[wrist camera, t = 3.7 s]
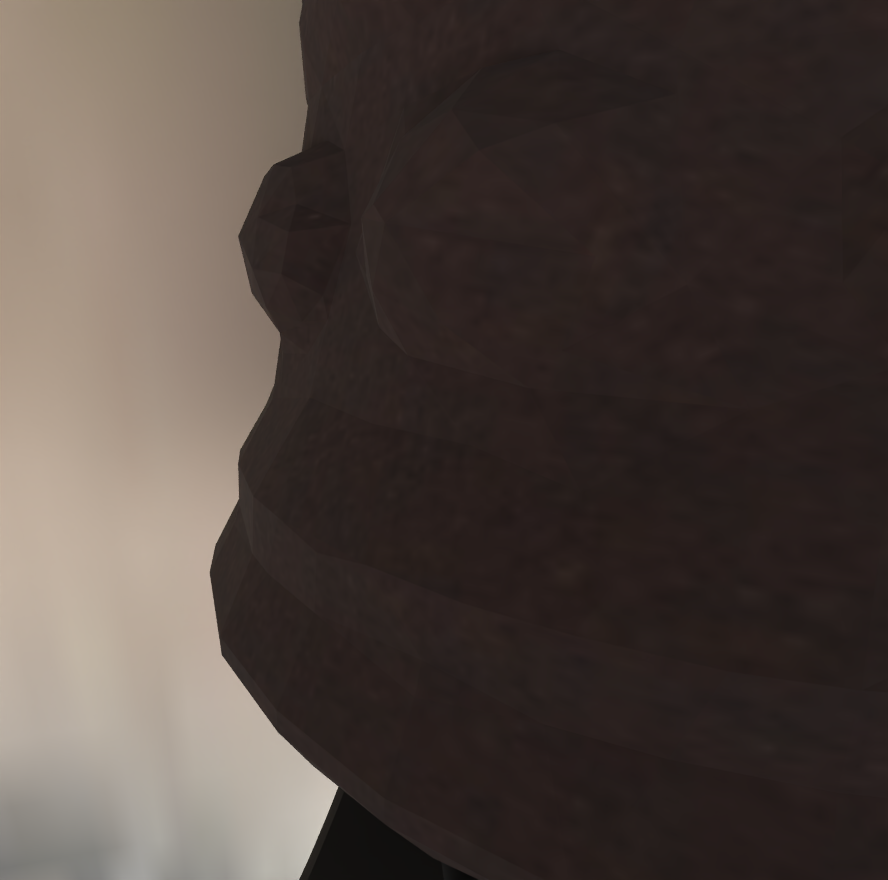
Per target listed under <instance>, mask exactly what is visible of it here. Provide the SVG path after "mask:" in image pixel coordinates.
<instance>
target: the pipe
mask: <svg viewBox="0 0 888 880" xmlns="http://www.w3.org/2000/svg"><path fill="white" fill-rule="evenodd" d="M302 4H303V5H302V10H301V16H300V22H299V26H300V37H301V48H302V59H303V70H304V81H305V92H306V100H307V104H308V111H307V119H306V126H305V133H304V140H303V148H302V152H301V153H299V154H296V155H294V156H292V157H290V158H287V159H285V160H283V161H281V162H279V163H276V164H274V165H273V166H272V167H271V169H270V170H269V171H268V173H267V174H266V175H265V176H264V179H263V181H262V183H261V186H260V188H259V190H258V192H257V195H256V197H255V199H254V202H253V204H252V206H251V208H250V211H249V213H248V215H247V218H246V220H245V222H244V224H243V227H242V229H241V231H240V234H239V236H238V237H239V241H240V245H241V249H242V254H243V258H244V262H245V266H246V270H247V274H248V278H249V283H250V287H251V291H252V294H253V295H254V297H255V298H256V300H257V301H258V302H259V304H260V305H261V307H262V308H263V309H264V311H265V312H266V314H267V315H268V316H269V318H270V319H271V321H272V322H273V324H274V325H275V326H276V328H277V329H278V331H279V332H280V337H281V341H280V348H279V356H278V363H277V370H276V377H275V384H274V387H273V389H272V392H271V394H270V397H269V399H268V402H267V404H266V406H265V408H264V409H263V411H262V413H261V415H260V416H259V418H258V420H257V422H256V423H255V425H254V427H253V429H252V430H251V432H250V434H249V436H248V437H247V439H246V441H245V443H244V445H243V446H242V448H241V450H240V456H239V462H238V471H239V500H238V502H237V504H236V506H235V508H234V510H233V512H232V514H231V516H230V518H229V520H228V522H227V524H226V526H225V528H224V530H223V532H222V534H221V536H220V537H219V539H218V541H217V543H216V546H215V550H214V555H213V560H212V564H211V569H210V577H211V584H212V591H213V598H214V605H215V611H216V618H217V625H218V632H219V639H220V645H221V652H222V656H223V657H224V659H225V660H226V661H227V663H228V664H229V665H230V667H231V668H232V670H233V671H234V672H235V674H236V675H237V676H238V678H239V679H240V681H241V682H242V683H243V685H244V686H245V687H246V689H247V690H248V692H249V693H250V694H251V696H252V697H253V698H254V700H255V701H256V703H257V704H258V705H259V707H260V708H261V709H262V711H263V712H264V714H265V715H266V716H267V718H268V719H269V720H270V722H271V723H272V725H273V726H274V727H275V729H276V730H277V731H278V733H279V734H280V735H282V736H283V737H284V738H285V739H286V740H287V741H288V742H289V743H290V744H291V745H292V746H293V747H294V748H295V749H296V750H297V751H298V752H299V753H300V754H301V755H302V756H303V757H304V758H305V759H306V760H308V761H309V762H310V763H311V764H312V765H313V766H314V767H315V768H316V769H318V770H319V771H320V772H321V773H323V774H324V775H325V776H326V777H327V778H329V779H330V780H331V781H332V782H334V783H335V784H336V785H337V786H339V787H340V788H341V789H342V790H344V791H345V792H346V793H347V794H348V795H350V796H351V797H352V798H353V799H355V800H356V801H357V802H358V803H360V804H361V805H362V806H363V807H364V808H366V809H367V810H368V811H369V812H371V813H372V814H373V815H374V816H376V817H377V818H378V819H379V820H380V821H382V822H383V823H384V824H385V825H387V826H388V827H390V828H391V829H393V830H394V831H395V832H397V833H398V834H400V835H401V836H402V837H404V838H405V839H407V840H408V841H410V842H411V843H412V844H414V845H415V846H417V847H418V848H420V849H421V850H422V851H424V852H425V853H427V854H428V855H429V856H431V857H432V858H434V859H436V860H438V861H440V862H442V863H445V864H447V865H449V866H451V867H453V868H455V869H457V870H459V871H462V872H464V873H466V874H468V875H470V876H472V877H474V878H476V879H478V880H888V0H302Z"/></svg>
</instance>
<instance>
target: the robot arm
mask: <svg viewBox="0 0 888 880" xmlns="http://www.w3.org/2000/svg"><path fill="white" fill-rule="evenodd" d="M299 880H478V879H476V878H474V877H472V876H470V875H468V874H466V873H464V872H462V871H459V870H457V869H455V868H453V867H451V866H449V865H447V864H445V863H442V862H440V861H438V860H436V859H434V858H432V857H431V856H429V855H428V854H427V853H425V852H424V851H422V850H421V849H420V848H418V847H417V846H415V845H414V844H412V843H411V842H410V841H408V840H407V839H405V838H404V837H402V836H401V835H400V834H398V833H397V832H395V831H394V830H393V829H391V828H390V827H388V826H387V825H385V824H384V823H383V822H382V821H380V820H379V819H378V818H377V817H376V816H374V815H373V814H372V813H371V812H369V811H368V810H367V809H366V808H364V807H363V806H362V805H361V804H360V803H358V802H357V801H356V800H355V799H353V798H352V797H351V796H350V795H348V794H347V793H346V792H345V791H344V790H342V789H341V788H340V787H338V789H337V792H336V795H335V797H334V800H333V802H332V805H331V807H330V810H329V812H328V815H327V817H326V820H325V822H324V824H323V827H322V829H321V831H320V834H319V836H318V839H317V841H316V843H315V846H314V848H313V850H312V853H311V855H310V857H309V859H308V862H307V864H306V866H305V868H304V871H303V873H302V875H301V877H300V879H299Z"/></svg>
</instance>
